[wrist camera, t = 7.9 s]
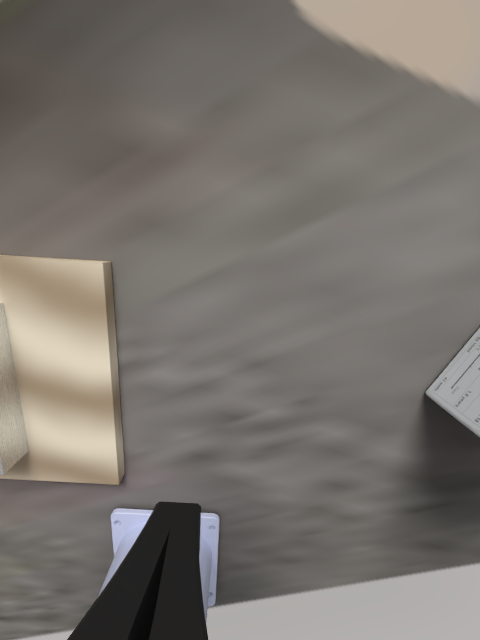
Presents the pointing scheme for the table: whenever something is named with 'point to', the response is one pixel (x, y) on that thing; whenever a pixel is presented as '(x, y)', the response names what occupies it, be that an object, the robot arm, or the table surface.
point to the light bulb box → (461, 386)
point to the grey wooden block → (9, 404)
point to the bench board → (65, 368)
